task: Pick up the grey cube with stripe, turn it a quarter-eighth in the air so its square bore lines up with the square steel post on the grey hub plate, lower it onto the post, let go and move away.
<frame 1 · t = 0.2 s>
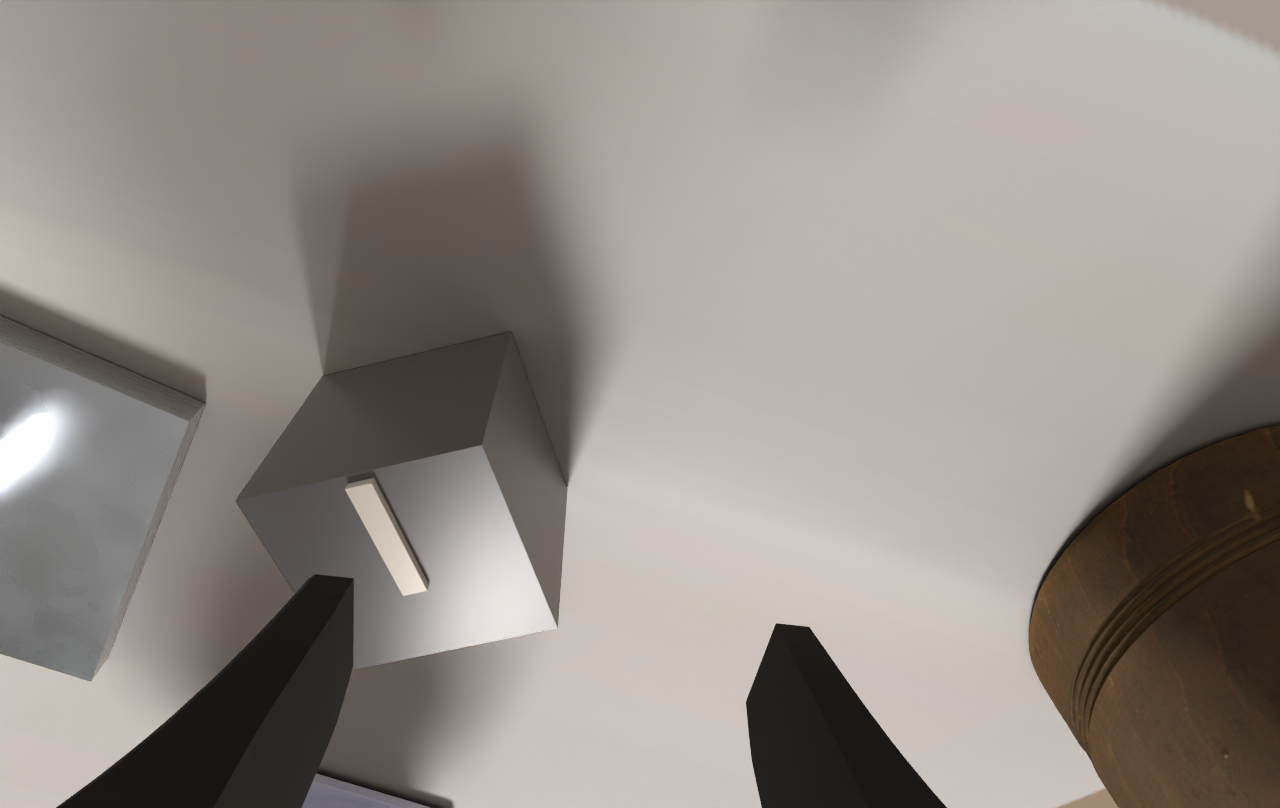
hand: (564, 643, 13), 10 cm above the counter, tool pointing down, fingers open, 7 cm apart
grey cube with stripe: (451, 435, 22), on the counter
wooden container: (1227, 584, 27), on the counter
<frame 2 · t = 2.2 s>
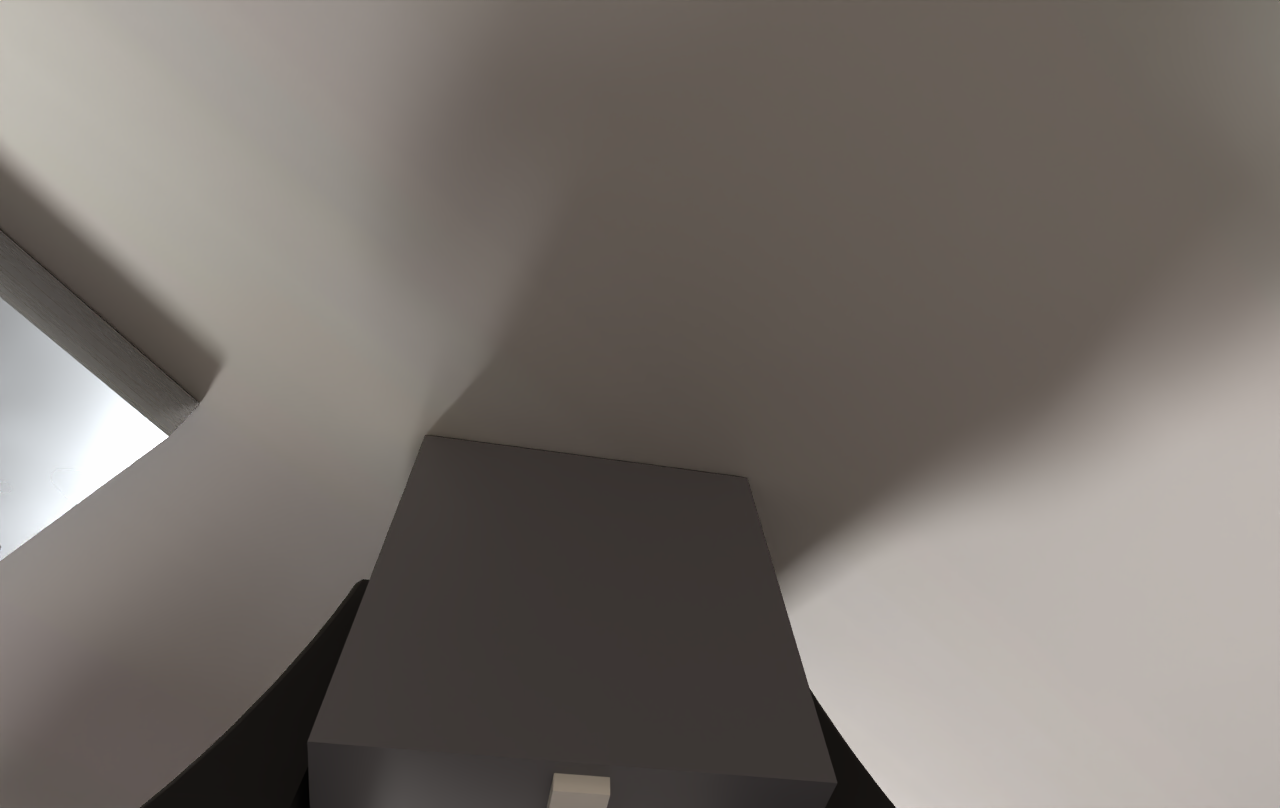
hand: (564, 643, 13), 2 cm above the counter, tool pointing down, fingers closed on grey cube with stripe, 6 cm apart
grey cube with stripe: (567, 578, 14), on the counter, touching gripper
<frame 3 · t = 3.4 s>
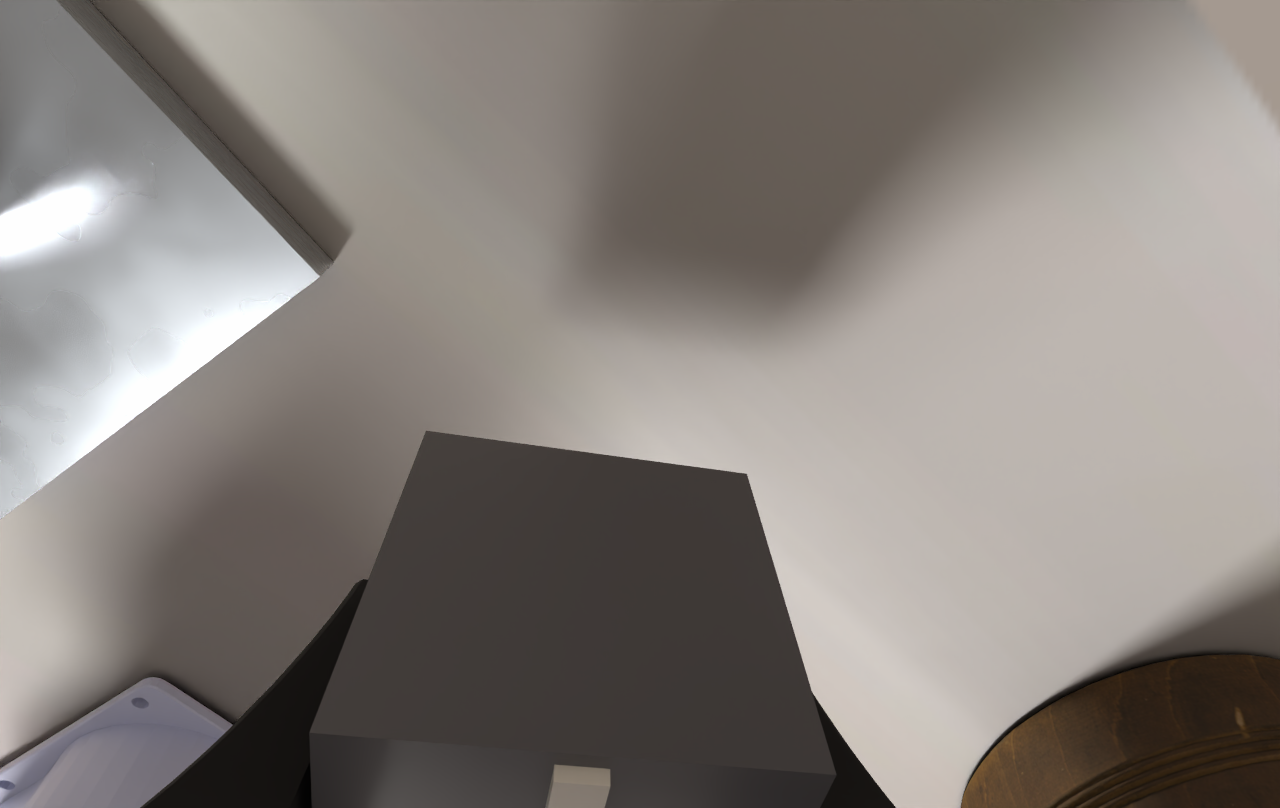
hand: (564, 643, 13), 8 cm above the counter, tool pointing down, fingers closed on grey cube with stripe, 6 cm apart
grey cube with stripe: (568, 574, 14), point 7 cm above the counter, touching gripper
wooden container: (1141, 774, 30), on the counter
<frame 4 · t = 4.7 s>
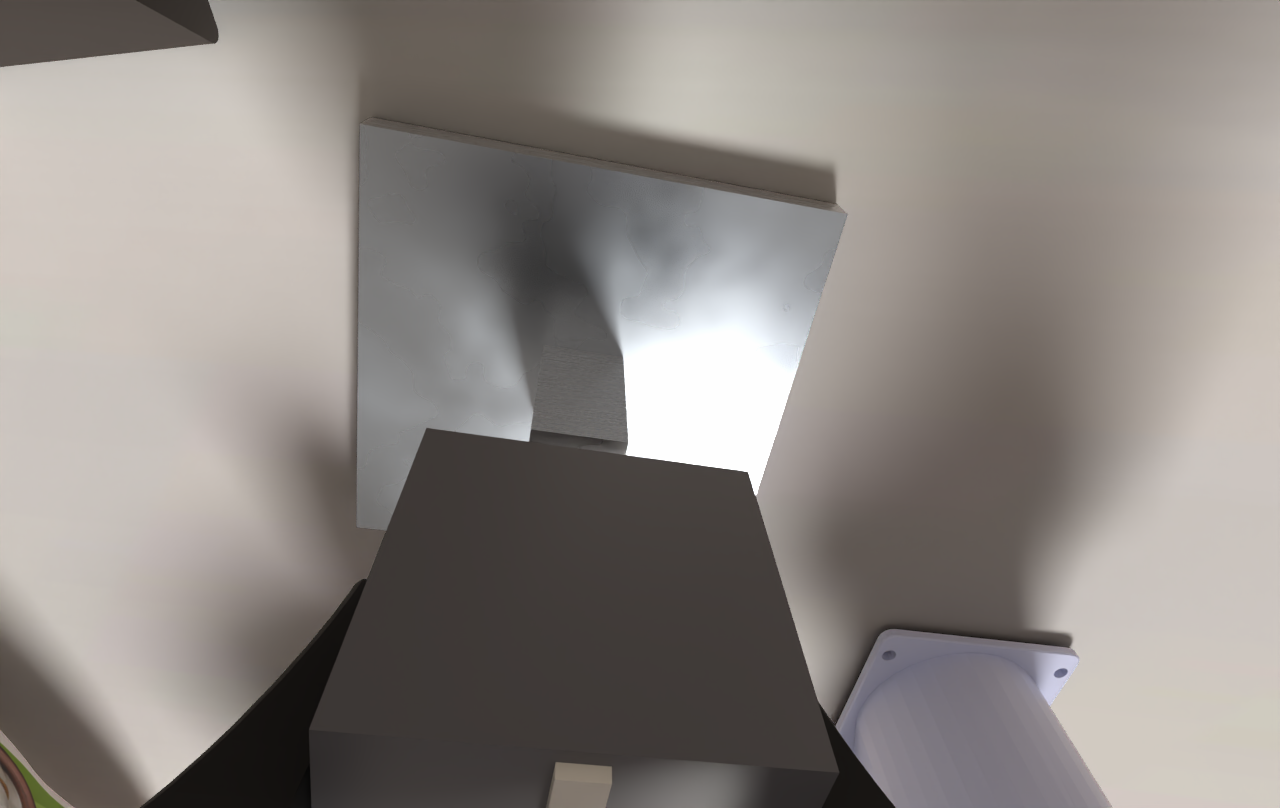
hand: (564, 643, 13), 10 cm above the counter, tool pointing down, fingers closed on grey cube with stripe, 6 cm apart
grey cube with stripe: (568, 572, 14), point 9 cm above the counter, touching gripper
pouch: (58, 742, 29), on the counter
hub: (578, 369, 22), on the counter
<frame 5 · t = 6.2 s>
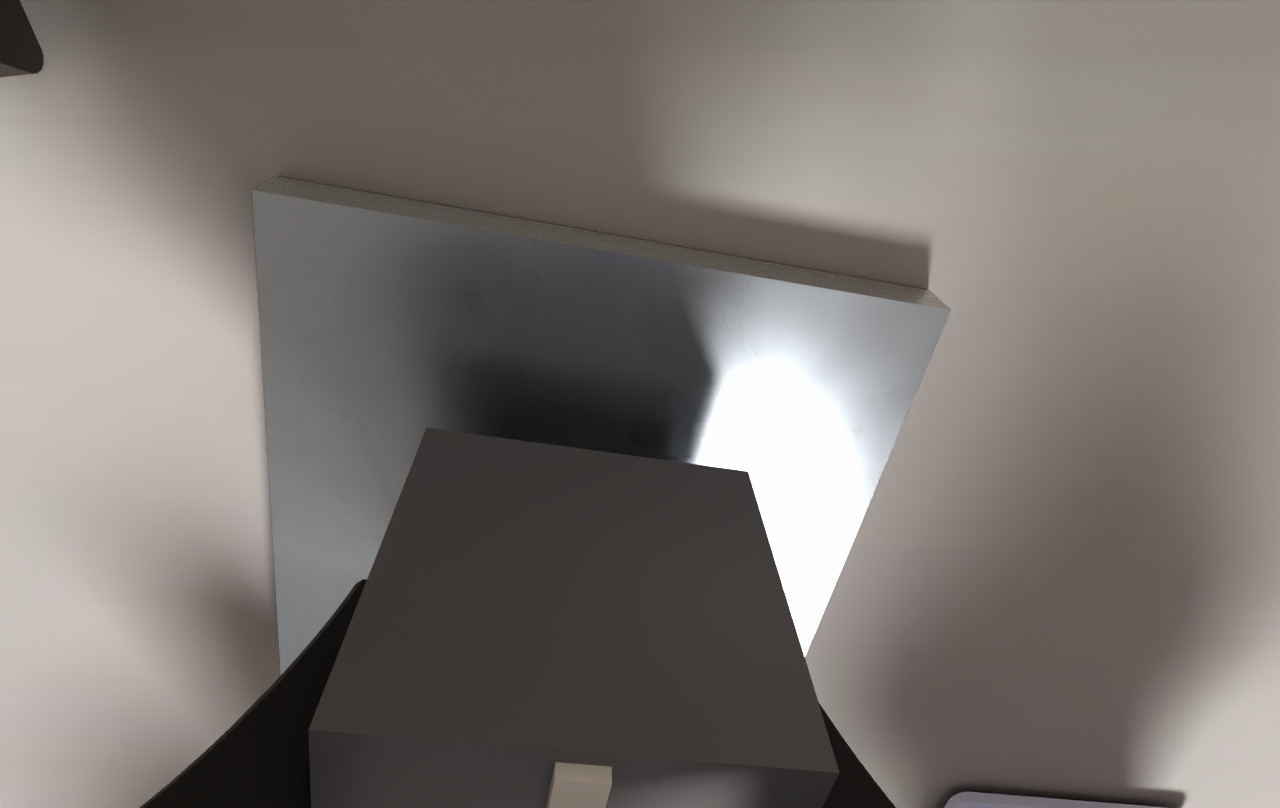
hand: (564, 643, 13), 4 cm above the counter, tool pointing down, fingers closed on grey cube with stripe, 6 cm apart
grey cube with stripe: (568, 572, 14), point 2 cm above the counter, touching gripper
hub: (573, 500, 16), on the counter
when the fingers open (3 cm above the counter, at t = 7.4 s): grey cube with stripe stays where it is, resting on hub.
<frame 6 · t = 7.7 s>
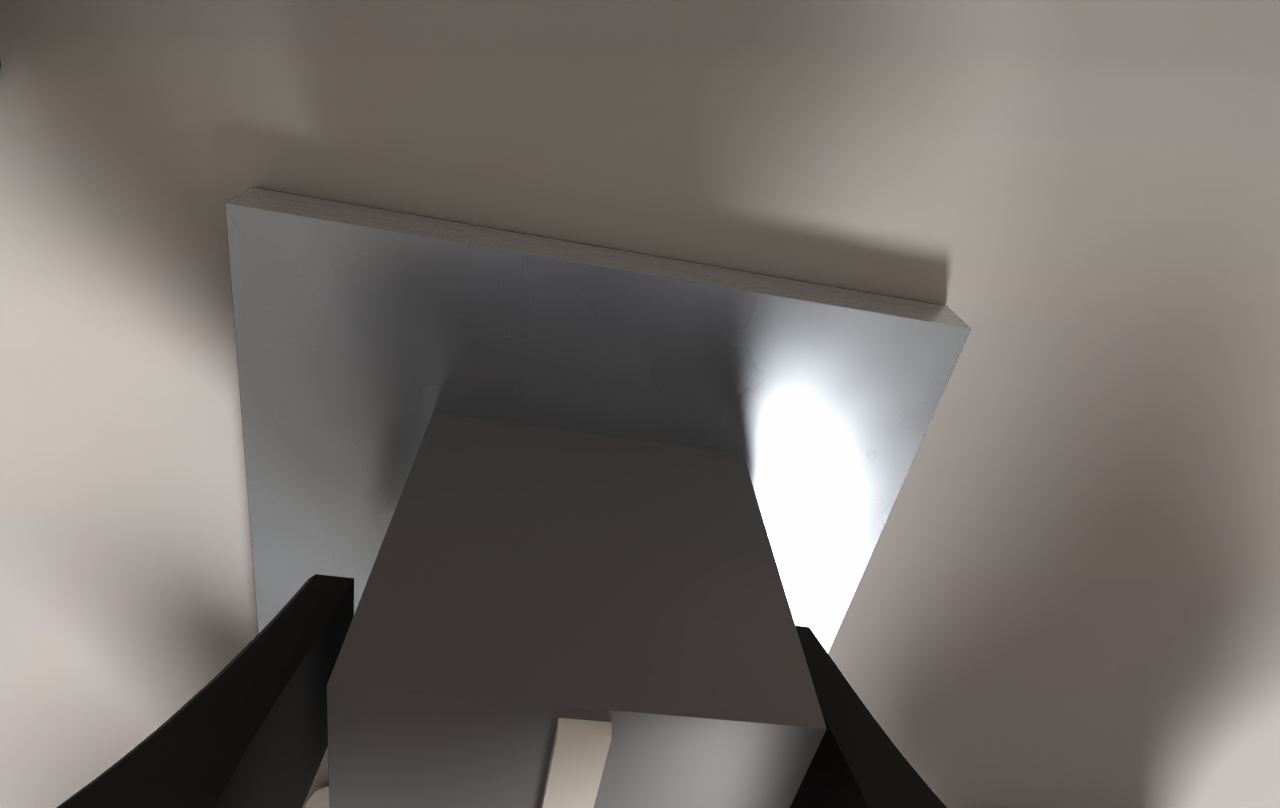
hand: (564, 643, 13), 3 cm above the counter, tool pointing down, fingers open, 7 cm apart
grey cube with stripe: (570, 553, 15), point 1 cm above the counter, touching hub
hub: (570, 525, 16), on the counter
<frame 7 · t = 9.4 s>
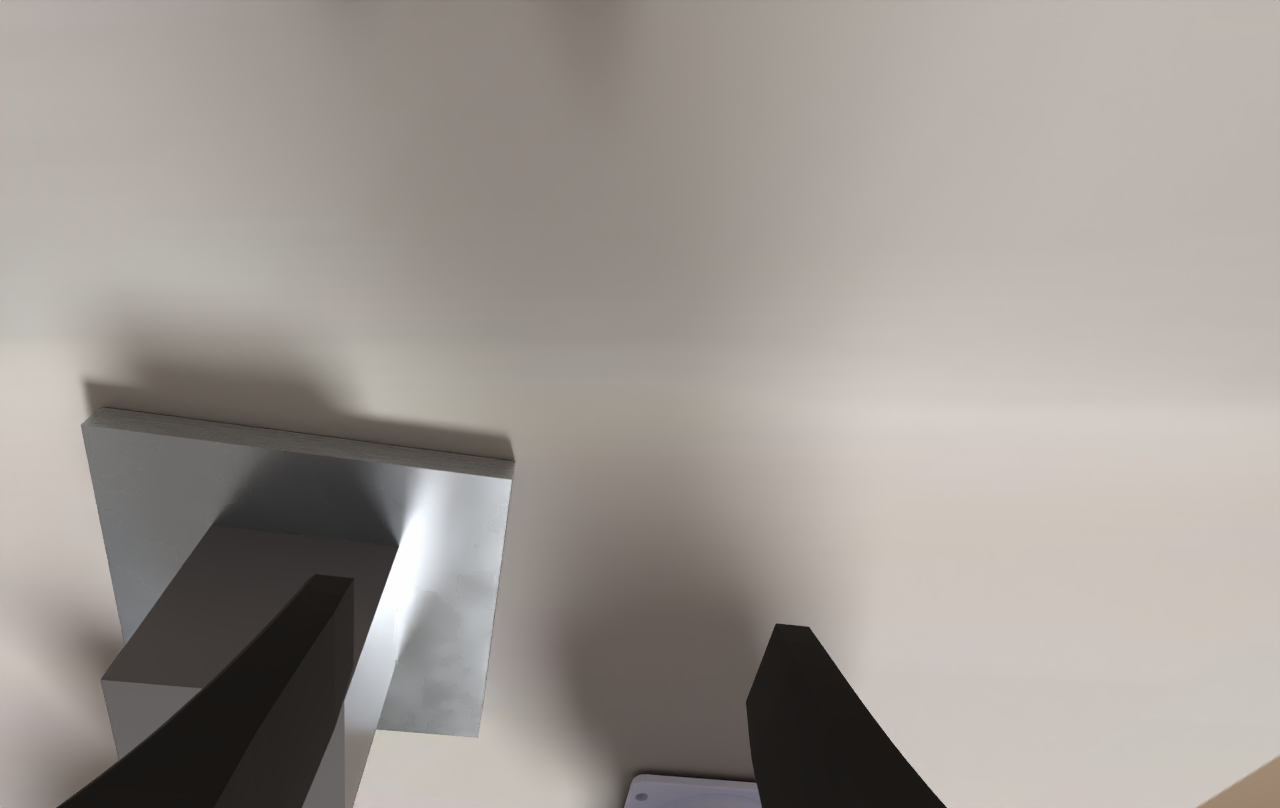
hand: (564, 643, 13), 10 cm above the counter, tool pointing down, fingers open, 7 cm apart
grey cube with stripe: (309, 602, 24), point 1 cm above the counter, touching hub
hub: (318, 583, 25), on the counter
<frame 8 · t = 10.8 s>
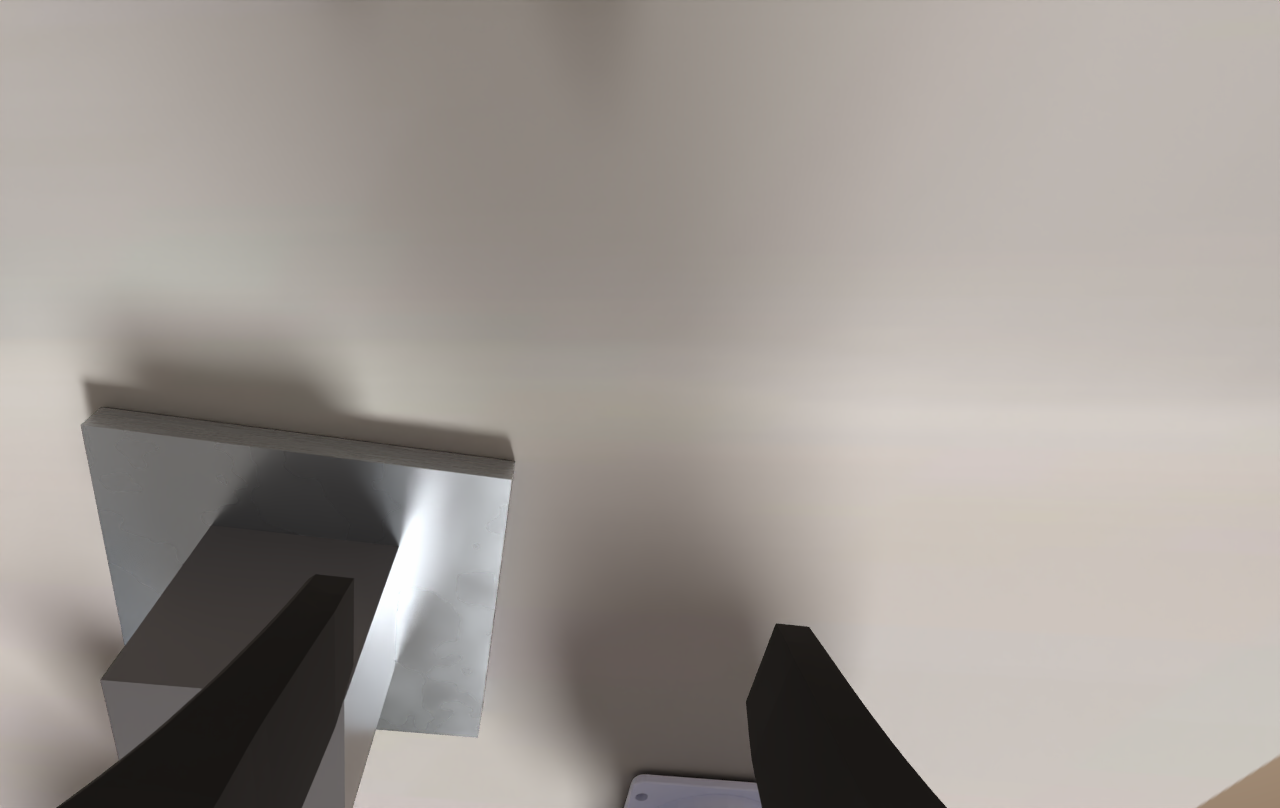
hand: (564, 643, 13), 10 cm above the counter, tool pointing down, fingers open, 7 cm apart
grey cube with stripe: (309, 602, 24), point 1 cm above the counter, touching hub
hub: (318, 583, 25), on the counter
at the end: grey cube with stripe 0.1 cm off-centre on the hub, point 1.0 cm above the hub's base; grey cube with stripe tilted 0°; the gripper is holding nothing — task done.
